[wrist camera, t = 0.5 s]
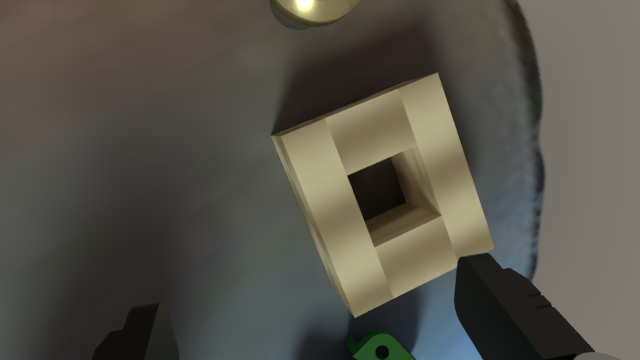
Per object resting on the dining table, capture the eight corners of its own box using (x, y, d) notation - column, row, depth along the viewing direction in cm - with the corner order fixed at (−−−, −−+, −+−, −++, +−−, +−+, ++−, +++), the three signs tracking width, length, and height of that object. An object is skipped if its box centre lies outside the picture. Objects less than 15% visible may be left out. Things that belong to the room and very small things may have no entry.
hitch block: (270, 135, 34) (280, 136, 28) (401, 82, 36) (437, 72, 30) (333, 287, 36) (354, 317, 30) (451, 230, 38) (494, 248, 32)
